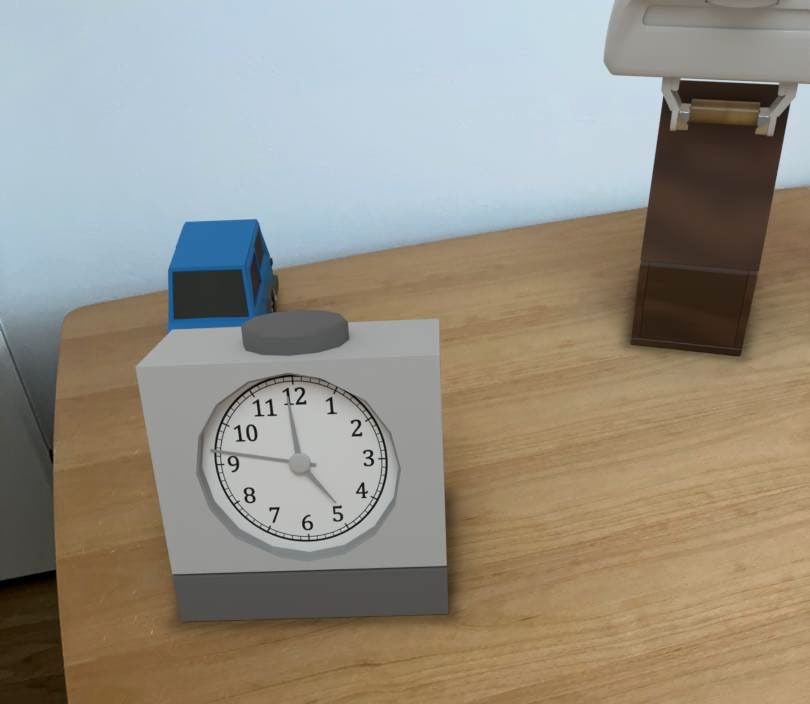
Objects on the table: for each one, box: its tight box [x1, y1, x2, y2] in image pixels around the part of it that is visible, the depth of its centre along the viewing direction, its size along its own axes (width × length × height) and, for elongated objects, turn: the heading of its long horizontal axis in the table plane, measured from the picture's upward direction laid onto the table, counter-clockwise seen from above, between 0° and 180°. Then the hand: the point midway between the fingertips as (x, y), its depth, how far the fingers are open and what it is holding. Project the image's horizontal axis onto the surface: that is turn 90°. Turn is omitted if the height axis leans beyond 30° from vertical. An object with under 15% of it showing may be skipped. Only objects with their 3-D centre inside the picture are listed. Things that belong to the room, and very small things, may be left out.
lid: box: [639, 79, 792, 272], centre depth 88 cm, size 15×11×5 cm
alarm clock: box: [135, 309, 449, 623], centre depth 75 cm, size 20×16×20 cm
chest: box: [630, 261, 759, 357], centre depth 101 cm, size 15×11×9 cm
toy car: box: [166, 218, 280, 335], centre depth 100 cm, size 9×19×10 cm, turn 179°
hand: (720, 131), depth 85 cm, fingers closed on lid, 5 cm apart
